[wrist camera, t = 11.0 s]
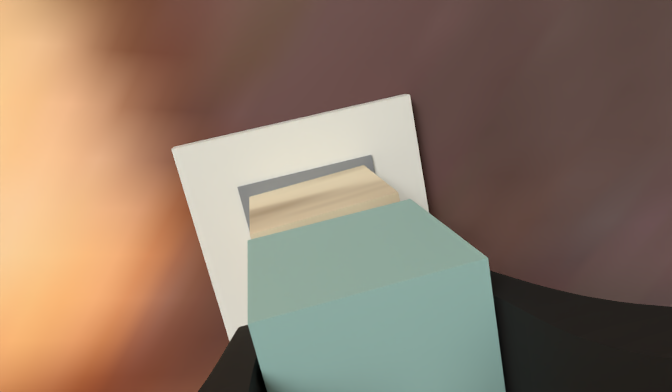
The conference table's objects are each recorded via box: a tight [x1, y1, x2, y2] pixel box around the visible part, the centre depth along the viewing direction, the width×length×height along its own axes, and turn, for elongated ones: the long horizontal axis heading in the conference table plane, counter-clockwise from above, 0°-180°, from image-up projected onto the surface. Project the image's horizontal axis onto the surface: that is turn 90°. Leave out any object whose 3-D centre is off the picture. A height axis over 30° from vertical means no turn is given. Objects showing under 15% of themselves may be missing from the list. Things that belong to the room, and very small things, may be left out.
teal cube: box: [248, 199, 506, 392], centre depth 12 cm, size 4×4×4 cm
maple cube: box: [249, 165, 400, 239], centre depth 17 cm, size 4×4×4 cm
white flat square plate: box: [171, 94, 429, 341], centre depth 20 cm, size 9×9×1 cm
